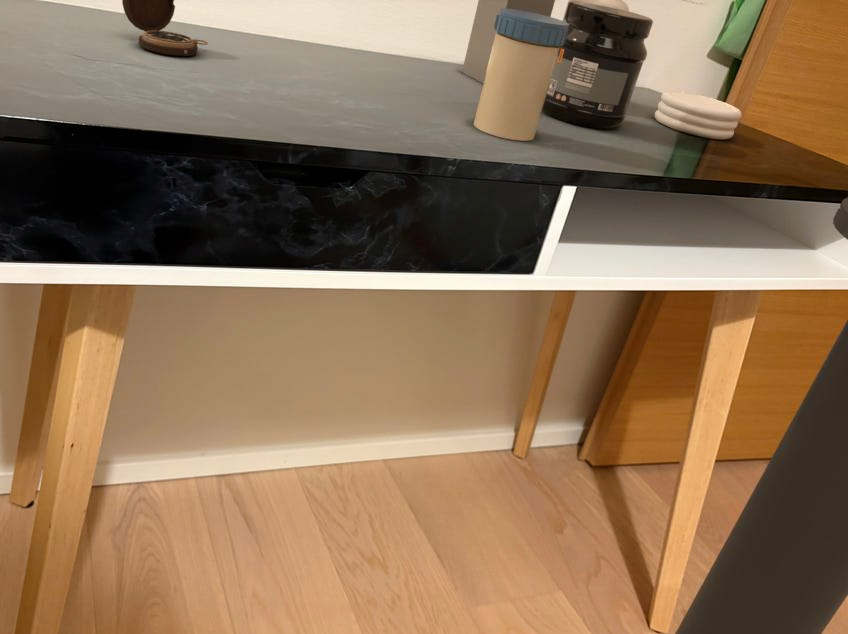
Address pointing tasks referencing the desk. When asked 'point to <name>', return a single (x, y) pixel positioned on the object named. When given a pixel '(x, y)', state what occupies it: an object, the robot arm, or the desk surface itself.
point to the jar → (515, 88)
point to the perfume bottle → (493, 31)
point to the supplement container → (597, 65)
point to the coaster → (697, 115)
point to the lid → (531, 27)
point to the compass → (158, 27)
